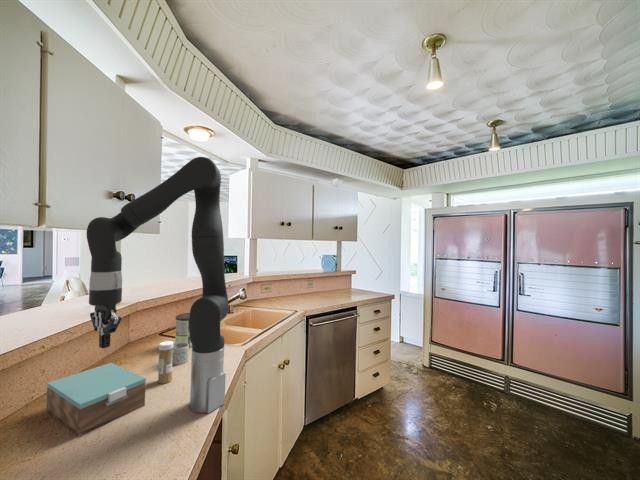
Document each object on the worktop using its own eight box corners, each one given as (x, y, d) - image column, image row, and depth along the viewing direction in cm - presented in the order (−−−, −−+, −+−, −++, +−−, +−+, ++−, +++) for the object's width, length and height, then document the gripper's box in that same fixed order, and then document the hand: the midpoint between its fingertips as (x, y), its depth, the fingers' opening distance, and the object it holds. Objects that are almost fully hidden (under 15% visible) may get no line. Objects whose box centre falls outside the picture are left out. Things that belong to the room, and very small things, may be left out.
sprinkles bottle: (172, 382, 98) (174, 343, 98) (157, 385, 96) (159, 346, 96) (171, 376, 102) (172, 339, 102) (157, 379, 100) (158, 341, 100)
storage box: (146, 406, 84) (147, 383, 84) (80, 438, 70) (81, 410, 70) (110, 387, 94) (111, 366, 94) (46, 411, 80) (47, 387, 80)
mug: (179, 357, 119) (180, 341, 119) (191, 360, 117) (192, 344, 117) (159, 366, 110) (159, 349, 110) (171, 369, 108) (172, 352, 108)
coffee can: (180, 341, 138) (181, 312, 138) (201, 341, 139) (202, 312, 139) (170, 348, 128) (171, 318, 128) (193, 349, 128) (194, 318, 128)
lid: (147, 385, 84) (148, 379, 84) (82, 413, 69) (82, 405, 69) (110, 368, 94) (111, 362, 94) (47, 389, 80) (47, 382, 80)
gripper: (132, 287, 81) (131, 347, 81) (109, 283, 87) (107, 339, 87) (102, 291, 74) (100, 356, 74) (79, 286, 81) (77, 346, 80)
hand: (104, 347), depth 81 cm, fingers closed
